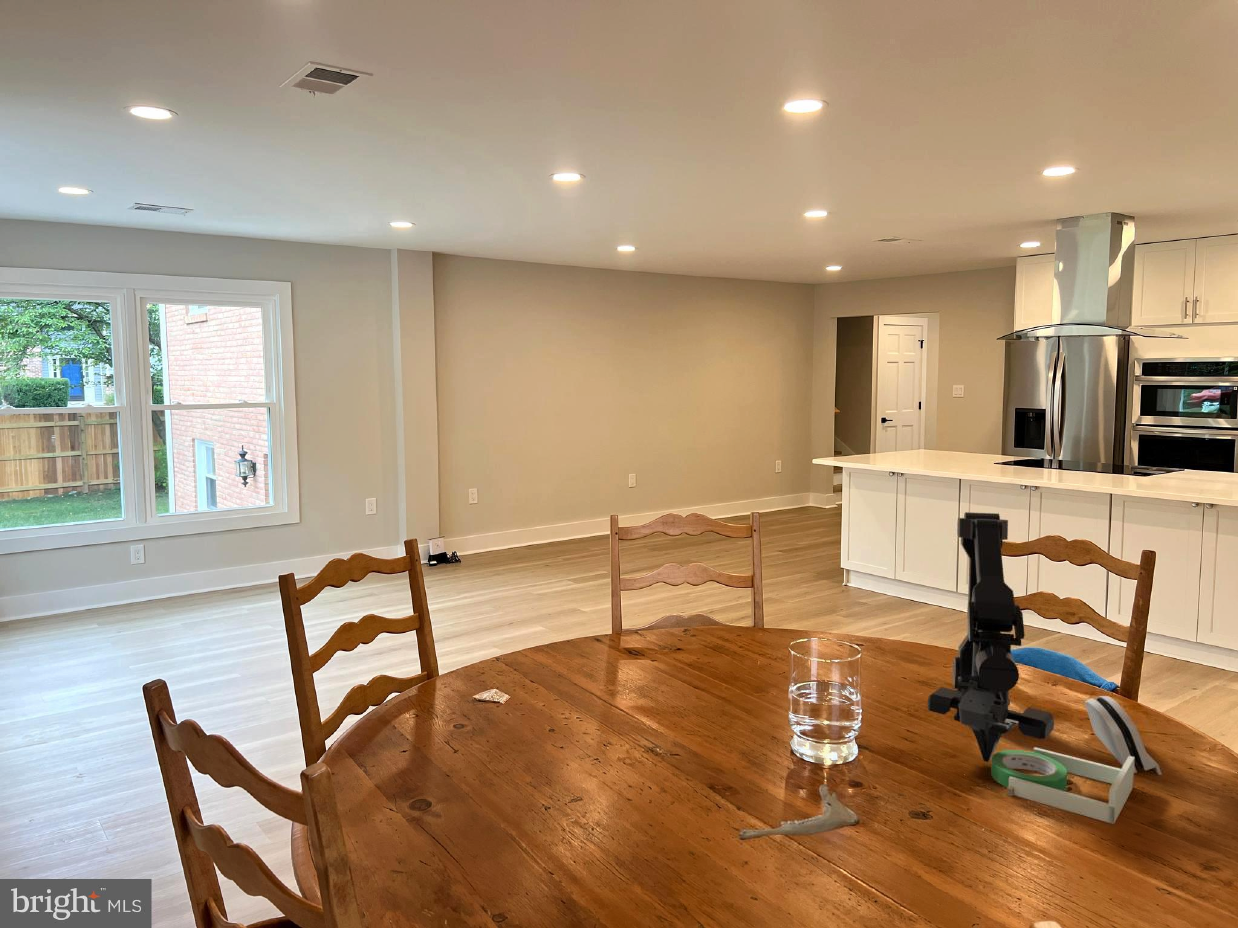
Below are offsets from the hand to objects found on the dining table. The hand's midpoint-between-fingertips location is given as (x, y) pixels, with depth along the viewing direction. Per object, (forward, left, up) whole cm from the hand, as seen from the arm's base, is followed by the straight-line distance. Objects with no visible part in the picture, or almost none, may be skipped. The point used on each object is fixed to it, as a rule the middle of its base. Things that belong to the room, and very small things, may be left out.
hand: (986, 760), depth 143 cm
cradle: (+13, 0, -1) cm, 13 cm away
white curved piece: (+16, +20, -2) cm, 26 cm away
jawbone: (-18, -35, -2) cm, 39 cm away
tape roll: (+7, 0, -1) cm, 7 cm away
